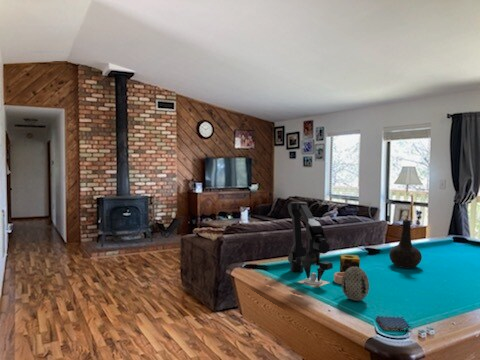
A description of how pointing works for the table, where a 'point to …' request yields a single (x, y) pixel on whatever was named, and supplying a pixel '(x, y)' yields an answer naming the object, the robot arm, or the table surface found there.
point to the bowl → (338, 277)
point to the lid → (313, 280)
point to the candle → (348, 262)
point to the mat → (314, 285)
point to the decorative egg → (355, 283)
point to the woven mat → (392, 323)
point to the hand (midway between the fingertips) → (313, 279)
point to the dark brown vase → (405, 249)
